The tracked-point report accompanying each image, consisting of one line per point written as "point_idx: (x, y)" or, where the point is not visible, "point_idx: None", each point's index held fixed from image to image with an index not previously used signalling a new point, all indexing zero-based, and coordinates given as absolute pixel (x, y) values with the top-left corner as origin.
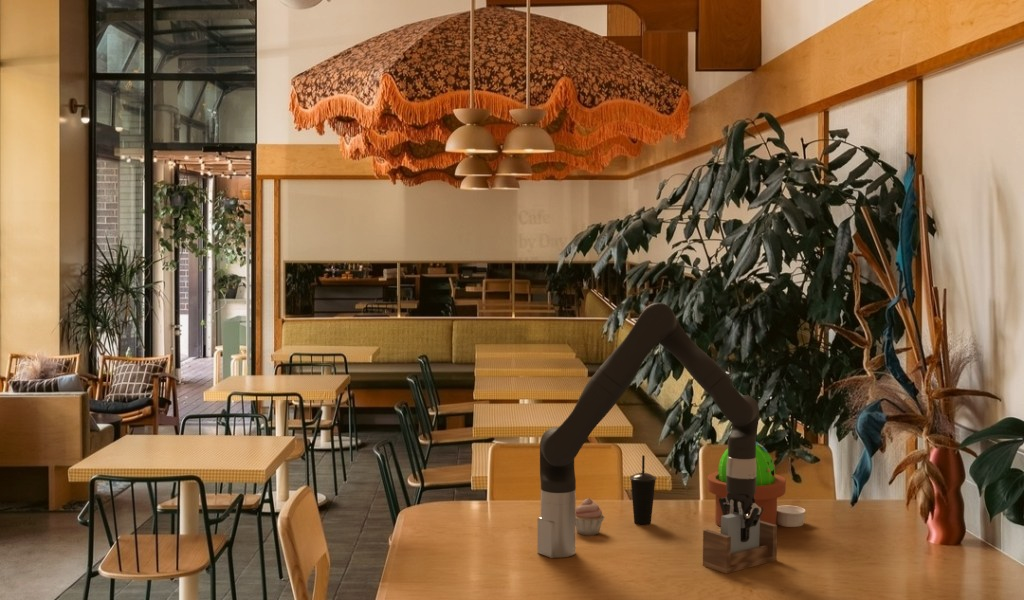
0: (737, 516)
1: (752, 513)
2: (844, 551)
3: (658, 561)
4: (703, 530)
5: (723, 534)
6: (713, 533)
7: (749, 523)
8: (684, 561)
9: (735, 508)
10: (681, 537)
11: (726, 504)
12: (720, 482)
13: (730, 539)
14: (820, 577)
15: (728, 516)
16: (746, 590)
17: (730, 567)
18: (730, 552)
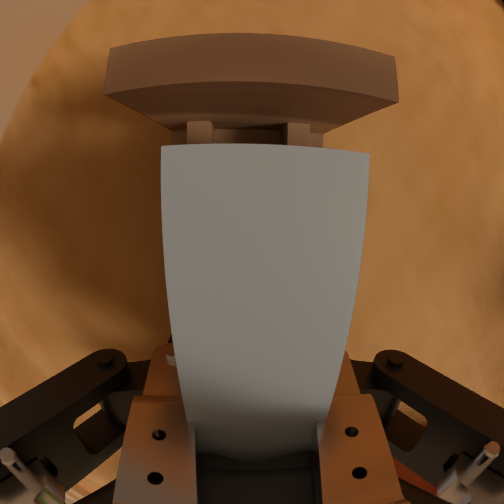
0: (183, 387)
1: (5, 434)
2: None
3: (430, 53)
4: (392, 57)
5: (187, 78)
6: (272, 35)
7: (86, 371)
8: (393, 106)
9: (306, 497)
10: (498, 303)
11: (463, 463)
12: None
13: (115, 97)
14: (30, 338)
15: (250, 255)
16: (41, 70)
17: (174, 135)
18: (150, 118)
